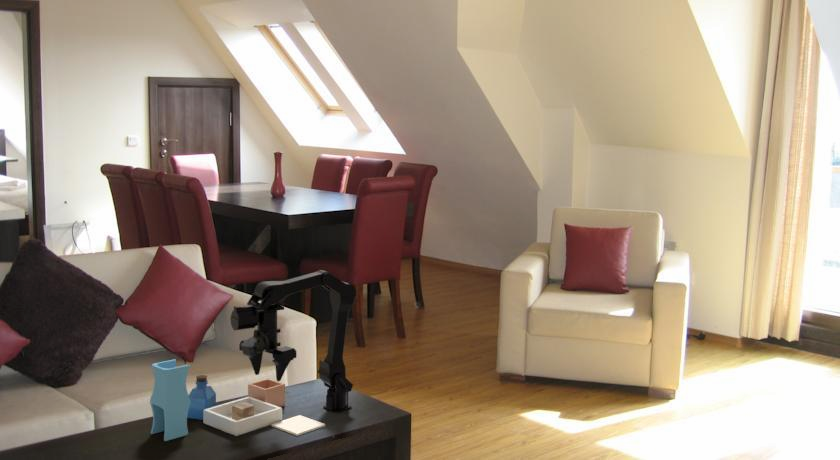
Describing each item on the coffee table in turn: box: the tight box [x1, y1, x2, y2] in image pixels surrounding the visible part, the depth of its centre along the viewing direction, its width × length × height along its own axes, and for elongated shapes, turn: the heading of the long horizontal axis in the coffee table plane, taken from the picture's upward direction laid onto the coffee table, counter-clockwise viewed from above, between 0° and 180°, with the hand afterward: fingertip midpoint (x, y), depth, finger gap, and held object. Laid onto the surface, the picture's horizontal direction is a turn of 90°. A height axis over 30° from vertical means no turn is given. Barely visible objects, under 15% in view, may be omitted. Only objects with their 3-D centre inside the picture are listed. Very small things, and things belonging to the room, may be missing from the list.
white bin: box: [202, 396, 283, 437], centre depth 256 cm, size 17×15×4 cm
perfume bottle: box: [187, 374, 217, 420], centre depth 259 cm, size 6×6×12 cm
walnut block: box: [232, 402, 254, 421], centre depth 255 cm, size 4×4×4 cm
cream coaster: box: [270, 414, 326, 437], centre depth 254 cm, size 11×11×1 cm
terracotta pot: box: [247, 378, 286, 408], centre depth 270 cm, size 8×8×7 cm
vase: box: [149, 358, 191, 442], centre depth 244 cm, size 8×8×20 cm
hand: (267, 377), depth 255 cm, fingers open, 9 cm apart
